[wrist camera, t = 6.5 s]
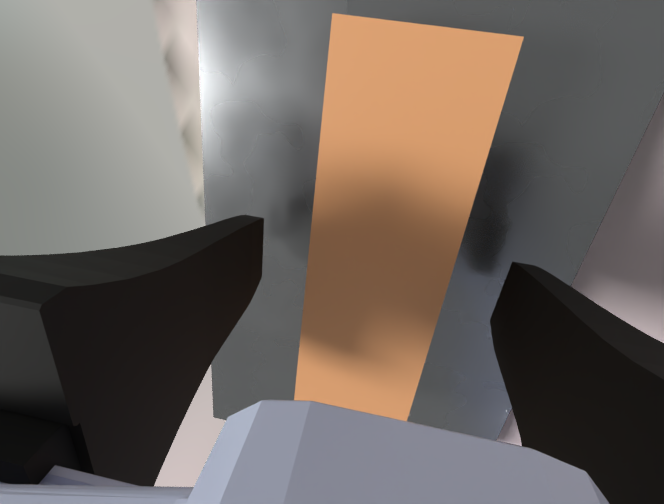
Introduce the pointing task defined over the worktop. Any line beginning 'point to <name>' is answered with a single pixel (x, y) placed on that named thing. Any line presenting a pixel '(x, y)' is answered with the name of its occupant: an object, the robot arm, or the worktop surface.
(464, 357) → the gray rectangular slab
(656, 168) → the worktop surface
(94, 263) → the robot arm
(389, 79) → the clip
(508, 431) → the worktop surface
